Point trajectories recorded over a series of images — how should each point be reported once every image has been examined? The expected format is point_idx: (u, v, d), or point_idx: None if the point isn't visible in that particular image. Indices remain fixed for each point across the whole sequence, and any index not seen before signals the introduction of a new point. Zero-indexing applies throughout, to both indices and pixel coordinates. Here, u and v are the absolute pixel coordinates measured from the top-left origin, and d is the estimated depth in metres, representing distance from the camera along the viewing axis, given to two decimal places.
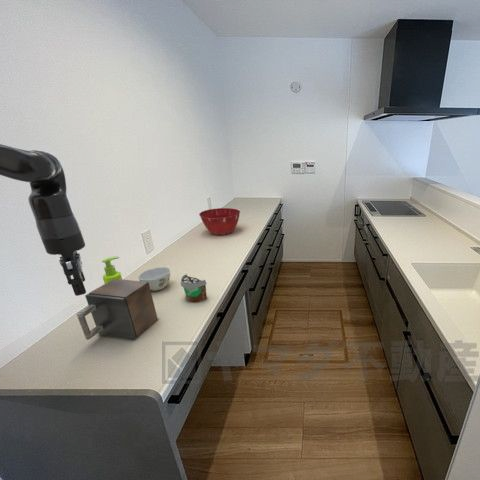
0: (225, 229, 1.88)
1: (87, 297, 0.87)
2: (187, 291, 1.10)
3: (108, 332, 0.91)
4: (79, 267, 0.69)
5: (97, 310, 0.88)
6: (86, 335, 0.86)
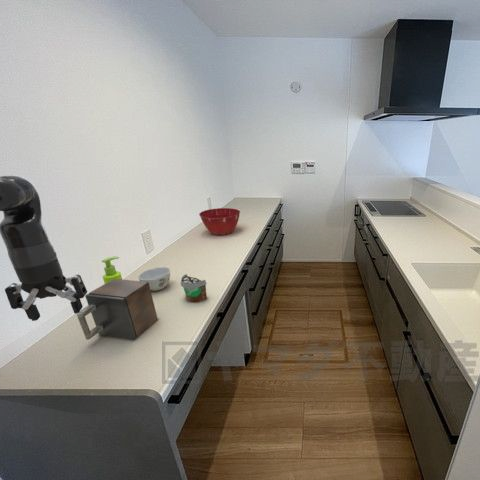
0: (225, 229, 1.88)
1: (87, 297, 0.87)
2: (187, 291, 1.10)
3: (108, 332, 0.91)
4: (67, 286, 0.70)
5: (97, 310, 0.88)
6: (86, 335, 0.86)
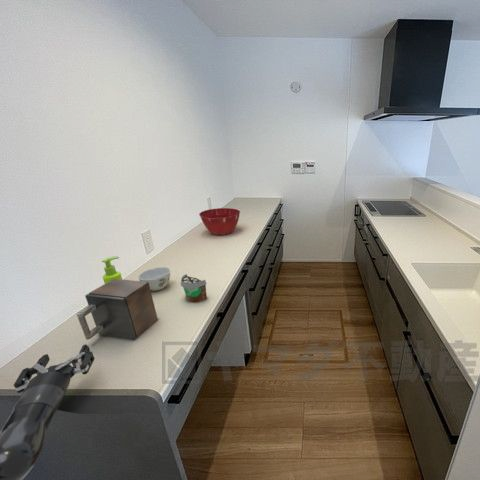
0: (225, 229, 1.88)
1: (87, 297, 0.87)
2: (187, 291, 1.10)
3: (108, 332, 0.91)
4: (72, 361, 0.70)
5: (97, 310, 0.88)
6: (86, 335, 0.86)
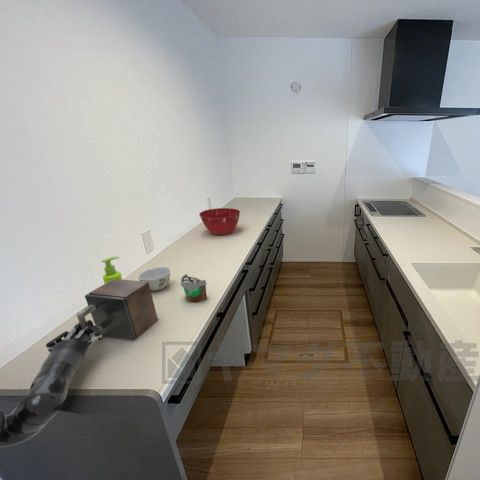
0: (225, 229, 1.88)
1: (87, 297, 0.87)
2: (187, 291, 1.10)
3: (108, 332, 0.91)
4: (84, 332, 0.80)
5: (97, 310, 0.88)
6: None
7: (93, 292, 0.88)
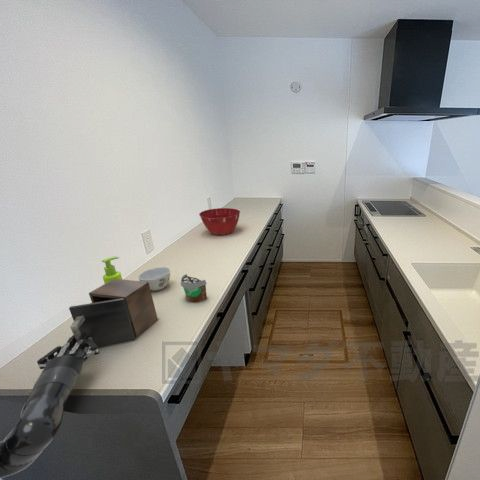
0: (225, 229, 1.88)
1: (72, 309, 0.81)
2: (187, 291, 1.10)
3: (99, 342, 0.87)
4: (79, 346, 0.75)
5: (86, 321, 0.83)
6: None
7: (93, 292, 0.88)
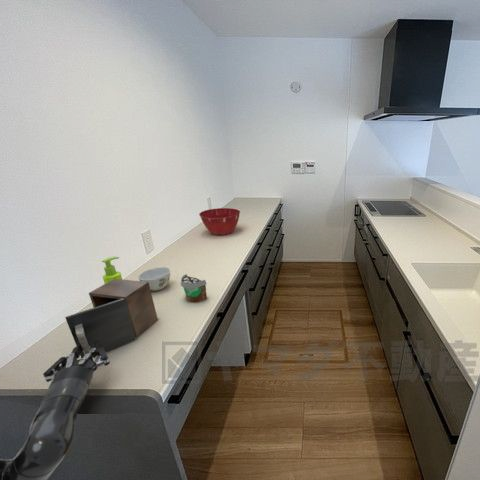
0: (225, 229, 1.88)
1: (69, 319, 0.76)
2: (187, 291, 1.10)
3: None
4: (89, 355, 0.72)
5: (84, 329, 0.79)
6: None
7: (93, 292, 0.88)
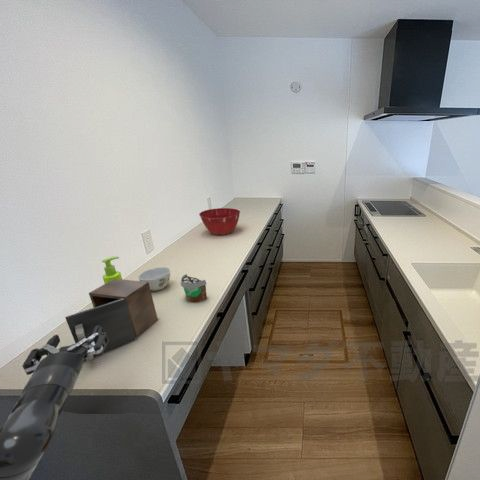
0: (225, 229, 1.88)
1: (69, 319, 0.76)
2: (187, 291, 1.10)
3: None
4: (84, 342, 0.64)
5: (84, 329, 0.79)
6: (90, 355, 0.78)
7: (93, 292, 0.88)
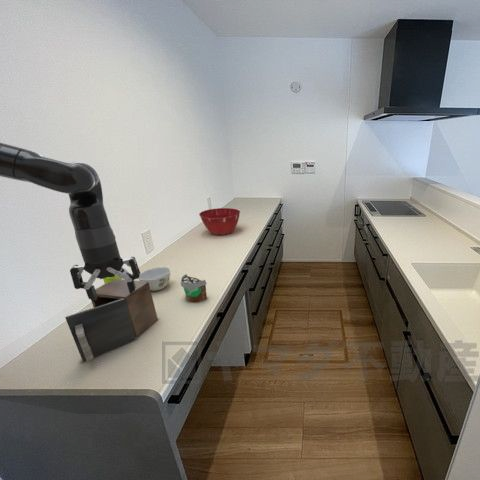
0: (225, 229, 1.88)
1: (69, 319, 0.76)
2: (187, 291, 1.10)
3: (99, 350, 0.84)
4: (123, 268, 0.74)
5: (84, 329, 0.79)
6: (90, 355, 0.78)
7: None
